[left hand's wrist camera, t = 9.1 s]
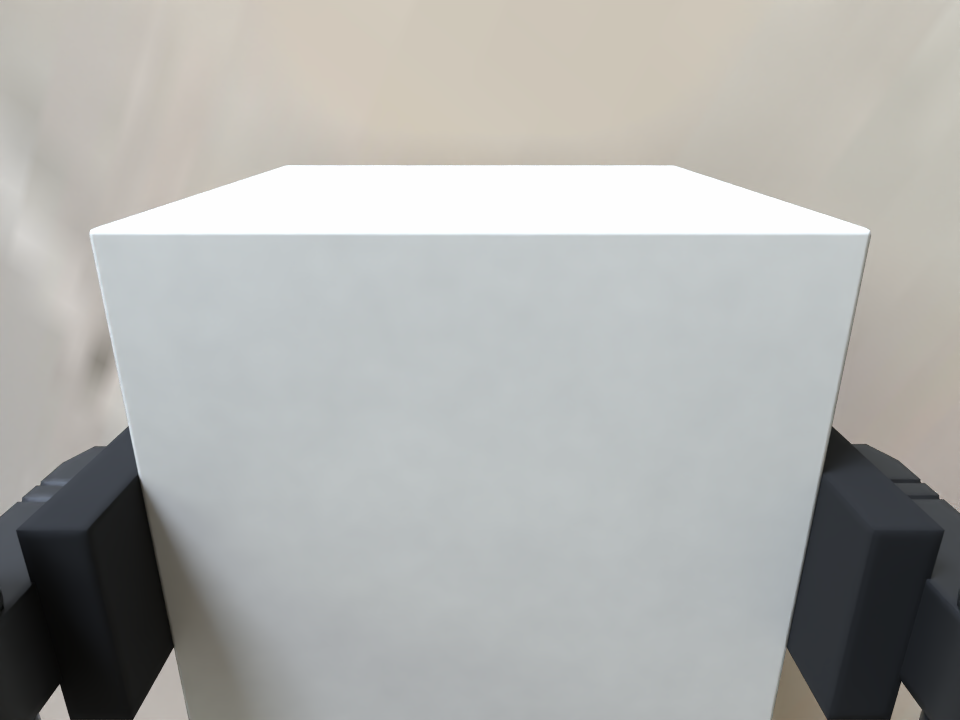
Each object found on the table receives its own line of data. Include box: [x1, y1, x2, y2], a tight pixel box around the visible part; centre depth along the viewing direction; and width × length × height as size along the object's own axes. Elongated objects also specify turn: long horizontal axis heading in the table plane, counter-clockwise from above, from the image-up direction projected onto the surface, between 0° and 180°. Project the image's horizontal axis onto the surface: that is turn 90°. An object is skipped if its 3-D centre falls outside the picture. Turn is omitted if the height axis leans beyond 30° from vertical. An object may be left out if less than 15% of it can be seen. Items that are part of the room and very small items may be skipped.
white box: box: [90, 166, 871, 720], centre depth 12 cm, size 8×9×8 cm
